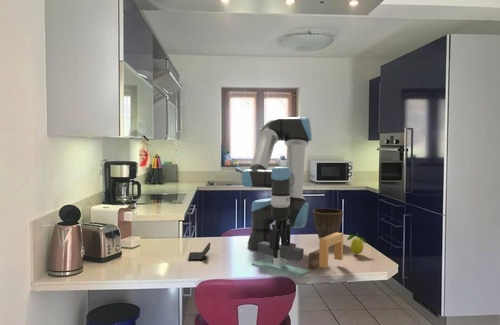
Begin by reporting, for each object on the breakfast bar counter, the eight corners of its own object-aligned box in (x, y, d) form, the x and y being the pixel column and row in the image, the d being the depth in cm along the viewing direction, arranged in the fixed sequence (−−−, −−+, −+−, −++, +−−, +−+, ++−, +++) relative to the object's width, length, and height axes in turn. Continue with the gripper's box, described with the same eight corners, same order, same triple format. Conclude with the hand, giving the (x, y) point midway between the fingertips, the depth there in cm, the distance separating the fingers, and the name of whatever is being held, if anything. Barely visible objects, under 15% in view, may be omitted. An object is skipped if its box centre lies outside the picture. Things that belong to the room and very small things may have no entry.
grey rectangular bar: (258, 252, 164) (258, 243, 164) (263, 250, 167) (263, 241, 167) (298, 261, 152) (298, 250, 152) (303, 259, 155) (303, 248, 155)
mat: (251, 264, 164) (251, 263, 164) (261, 260, 170) (261, 259, 170) (300, 276, 150) (300, 274, 150) (309, 271, 155) (309, 270, 155)
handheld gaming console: (185, 250, 179) (199, 233, 179) (197, 259, 181) (211, 242, 181) (187, 262, 168) (202, 243, 168) (200, 270, 170) (215, 252, 170)
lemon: (346, 254, 180) (347, 232, 179) (352, 252, 184) (352, 230, 184) (360, 257, 176) (361, 235, 175) (366, 254, 180) (366, 232, 180)
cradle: (278, 261, 169) (278, 247, 168) (290, 256, 177) (291, 243, 176) (314, 269, 158) (314, 254, 158) (325, 263, 166) (326, 249, 166)
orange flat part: (319, 266, 154) (319, 238, 154) (335, 258, 166) (336, 232, 165) (326, 268, 152) (326, 239, 152) (342, 259, 164) (343, 233, 163)
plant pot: (325, 247, 193) (326, 214, 192) (306, 240, 206) (306, 209, 205) (348, 243, 200) (349, 211, 200) (328, 237, 213) (329, 207, 213)
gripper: (276, 209, 150) (275, 271, 151) (299, 204, 163) (299, 261, 164) (260, 207, 154) (259, 267, 155) (284, 202, 168) (283, 257, 169)
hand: (279, 264), depth 160 cm, fingers closed on grey rectangular bar, 4 cm apart
